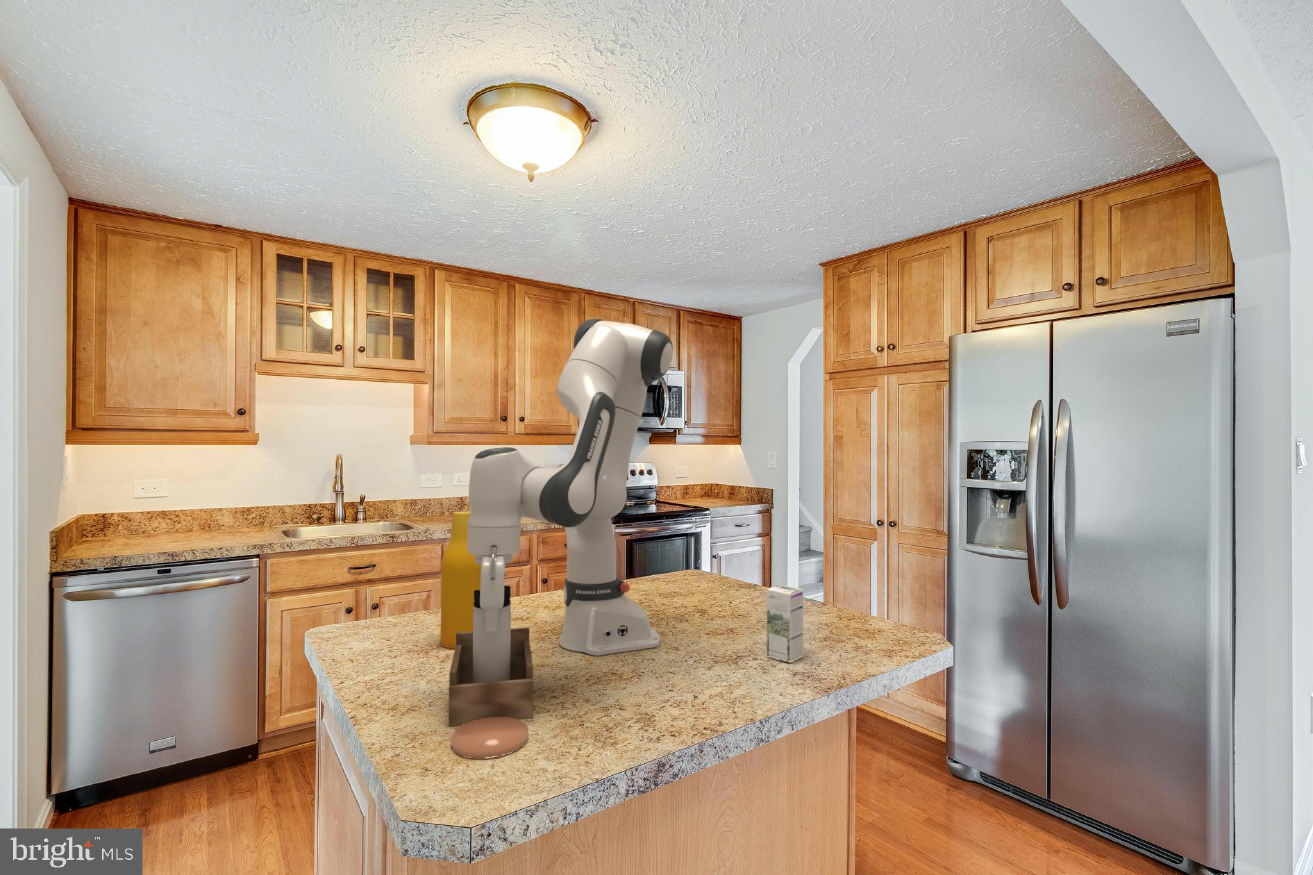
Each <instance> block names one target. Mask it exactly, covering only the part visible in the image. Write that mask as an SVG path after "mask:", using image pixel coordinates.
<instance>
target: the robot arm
mask: <svg viewBox="0 0 1313 875" xmlns="http://www.w3.org/2000/svg"><path fill="white" fill-rule="evenodd" d="M673 349H674V347H673V342H672V340H671V338H670V336H668V335H667V334H666V333H664V332H661V331H659V330H656V329H654V330H652V329H649V328H647V327H643V326H640V325H637V324H634V323H633V324H632V323H628V322H627V323H624V322H619V321H618V322H617V321H613V320H612V321H609V320H604V319H601V318H591V319H586V320H584V321H583V322H582V323H581V324H580V325H578V327H577V329H576V331H575V334H574V338H573V351H572V352H571V353H570V356H569V357H568V360H566V362H565V365H564V367H563V369H562V370H561V373H560V376H559V379H558V383H557V388H556V392H557V397H558V400H559V401H560V403H561V405H562V406H563V408H565V410H566V411H568V412H569V413H570V414H571V415H573V416H574V417H575V418H577V419H578V422H579V424H578V429H577V431H576V432H577V433H576V434H575V437H574V438H575V439H574V441H573V445H572V448H571V450H570V454H569V457H568V459H567V461H566V462H565V463H564V464H562V465H561V466H559V467H557V468H556V467H546V466H540V465H539V464H537V463H534V462H532V461H530V460H529V459H527V458H526V457H525V456H523V455H522V454H521V453H520V451H519V450H518V449H517V448H515V447H509V446H507V447H495V448H494V447H493V448H489V449H484V450H481V451H480V452H478V453H477V454H476V455H475V456H474V458H473V461H472V463H471V466H470V467H471V468H470V474H469V483H468V502H469V507H470V512H471V513H470V517H469V520H468V534H467V552H468V553H470V554H474V557H475V558H474V562H476V563H479V564H481V584H480V607H481V608H482V609H485V618H486V631H488V632H489V631H496V630H497V618H498V609H499V608H502V607H503V604H504V585H505V577H506V576H505V574H506V572H505V570H506V564H509V563H511V562H513V554H517V553H519V552H520V551H521V548H520V547H521V519H522V518H526V519H531V520H535V521H540V522H547V523H551V524H554V525H557V526H560V527H563V528H564V529H565V531H564V532H565V536H566V539H565V540H566V578H565V580H564V585H563V586H564V589H563V590H564V591H563V593H564V595H563V599H564V600H563V601H564V605H565V610H564V611H565V612H564V619H563V624H562V630H561V634H560V638H559V639H558V640H559V641H558V644H559V645H560V646H561V647H562V648H564V649H566V650H570V651H573V652H579V653H586V654H588V655H590V656H602V655H611V654H618V653H622V652H623V653H624V652H630V651H636V650H638V651H639V650H643V649H651V648H656V647H658V646H659V645H660V644H661V636H660V634H659V633H658V631H656V629H654V628H652V627H651V624H650V619H649V616H648V614H647V612H646V610H645V609H644V608H643V607H642V606H641V605H639V604H638V603H637V602H635V601H634V600H633V599H632V598H630V597H629V596H628V595H626V593H629V592H630V590H631V585H630V584H629V583H628V582H626V581H625V580H623V579H621V578H620V577H617V541H616V538H615V534H614V528H613V522H612V518H613V517H615V516H617V515H618V514H619V513H621V512H622V510H623V509H624V507H625V505H626V502H627V499H628V498H627V494H628V492H627V482H628V475H629V467H630V459H631V453H632V448H633V446H634V443H635V439H636V435H637V433H638V429H639V425H640V423H641V419H642V415H643V412H644V407H645V404H646V399H647V398H646V397H647V394H648V393H647V391H648V387H650V386H651V385H652V384H654V382H656V381H658V380H660V379H661V378H662V377H663V376H665V375H666V374H667V372H668V370H669V368H670V366H671V363H672V360H673V357H674V356H673V354H674V353H673V351H674V350H673Z"/></svg>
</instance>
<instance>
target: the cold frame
mask: <svg viewBox="0 0 1313 875" xmlns="http://www.w3.org/2000/svg"><path fill="white" fill-rule="evenodd" d="M532 657H533V656H532V650H531V643H530V627H517V628H516V627H515V628H511V647H510V680H508V681H496V682H484V683H473V631H469V632H456V647H455V649H454V652H453V657H452V660H451V665H450V670H449V676H448V677H449V680H448V681H449V682H448V727H452V725H455V726H460V725H459V724H466V723H468V722H471V721H474V720H477V719H482V718H487V717H510V718H515V719H518V720H524V719H533V717H534V712H533V711H534V678H533V676H534V672H533V671H534V667H533V666H534V664H533V658H532Z"/></svg>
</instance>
